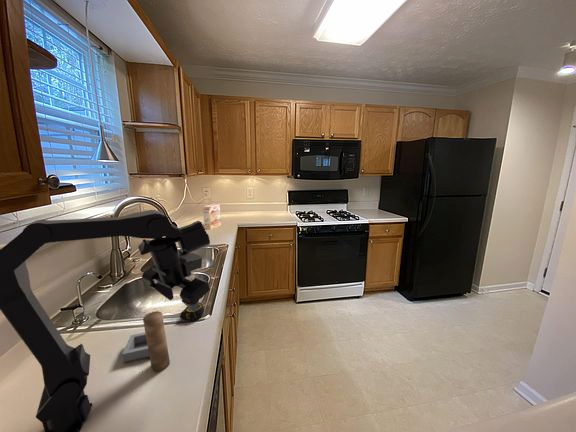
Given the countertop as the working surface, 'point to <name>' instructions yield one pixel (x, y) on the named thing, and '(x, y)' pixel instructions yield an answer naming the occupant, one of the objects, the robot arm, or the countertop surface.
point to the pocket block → (136, 348)
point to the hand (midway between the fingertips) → (183, 304)
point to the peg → (156, 341)
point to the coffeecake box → (212, 216)
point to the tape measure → (190, 314)
